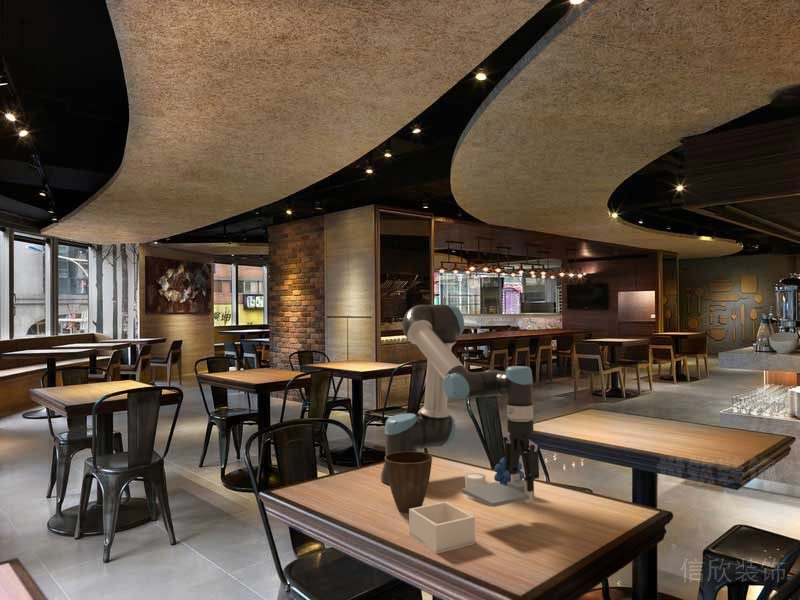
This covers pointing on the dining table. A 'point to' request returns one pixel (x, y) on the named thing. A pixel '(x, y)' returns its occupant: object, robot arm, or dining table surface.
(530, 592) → the dining table surface
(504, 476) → the grapes
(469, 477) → the beige cup
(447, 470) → the dining table surface
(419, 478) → the plant pot
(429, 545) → the tub
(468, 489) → the lid
